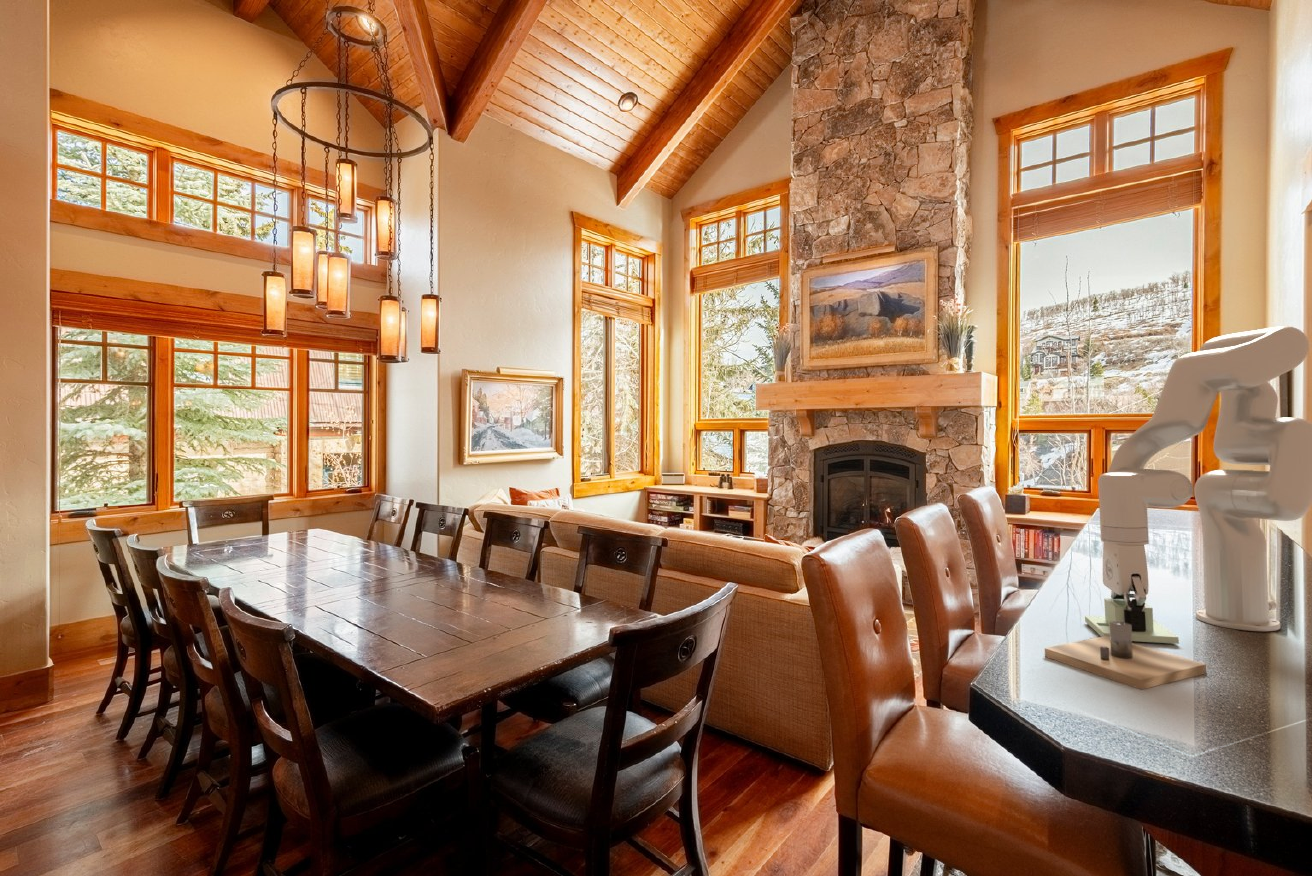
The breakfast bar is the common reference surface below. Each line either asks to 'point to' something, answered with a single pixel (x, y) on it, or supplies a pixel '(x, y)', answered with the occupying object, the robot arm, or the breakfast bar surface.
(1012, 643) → the breakfast bar surface
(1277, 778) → the breakfast bar surface
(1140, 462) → the robot arm
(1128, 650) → the pins
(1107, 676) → the base
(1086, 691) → the breakfast bar surface
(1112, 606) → the flange
